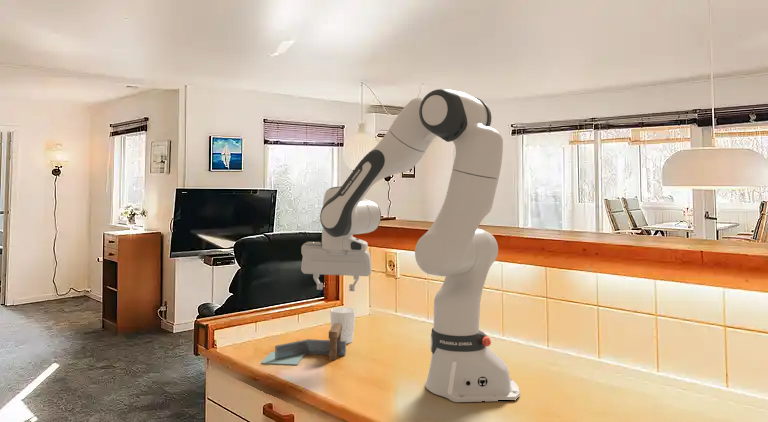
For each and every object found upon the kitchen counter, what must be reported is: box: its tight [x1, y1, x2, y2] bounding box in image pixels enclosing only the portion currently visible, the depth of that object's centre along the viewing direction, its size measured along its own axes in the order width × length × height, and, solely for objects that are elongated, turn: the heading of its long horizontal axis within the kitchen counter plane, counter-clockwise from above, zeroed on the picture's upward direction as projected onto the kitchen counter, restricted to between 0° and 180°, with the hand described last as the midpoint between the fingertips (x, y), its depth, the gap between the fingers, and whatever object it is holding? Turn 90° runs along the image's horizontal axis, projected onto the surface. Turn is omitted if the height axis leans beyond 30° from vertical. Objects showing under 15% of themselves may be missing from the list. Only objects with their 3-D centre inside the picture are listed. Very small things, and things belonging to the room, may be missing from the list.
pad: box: [260, 351, 306, 366], centre depth 148 cm, size 10×10×1 cm
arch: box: [328, 323, 342, 361], centre depth 153 cm, size 2×10×8 cm, turn 176°
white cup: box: [330, 306, 356, 345], centre depth 166 cm, size 8×8×10 cm
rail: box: [274, 338, 347, 360], centre depth 150 cm, size 19×9×4 cm, turn 86°
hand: (335, 290), depth 152 cm, fingers open, 8 cm apart
